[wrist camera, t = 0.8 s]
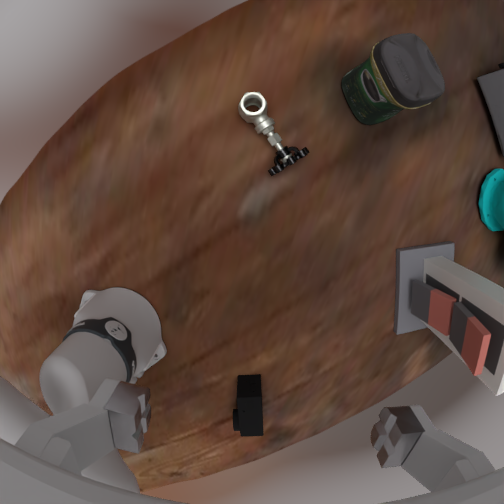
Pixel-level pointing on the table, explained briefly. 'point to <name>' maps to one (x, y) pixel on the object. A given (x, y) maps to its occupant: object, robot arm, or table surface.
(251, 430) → the digital camera
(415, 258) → the tower
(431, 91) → the coffee jar
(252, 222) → the table surface
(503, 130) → the vintage electronic device
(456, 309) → the upper rocker
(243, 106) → the valve
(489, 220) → the valve
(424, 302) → the lower rocker
